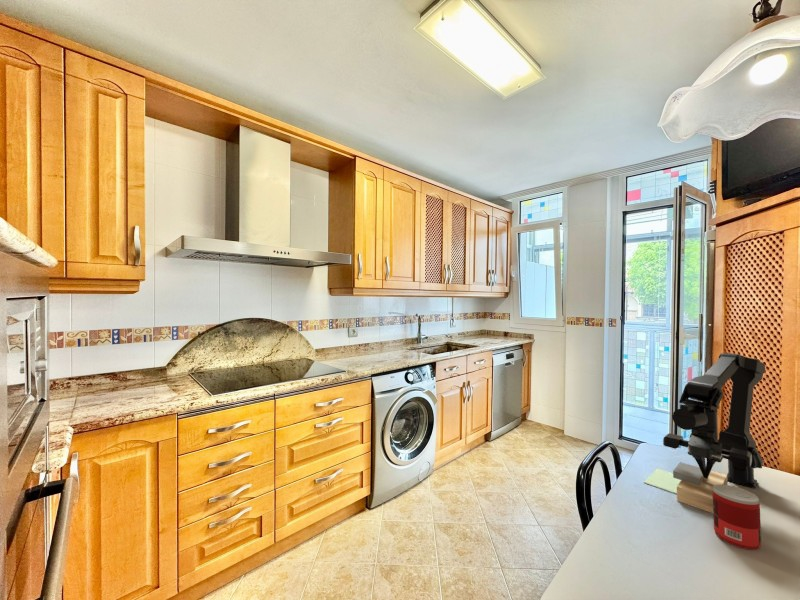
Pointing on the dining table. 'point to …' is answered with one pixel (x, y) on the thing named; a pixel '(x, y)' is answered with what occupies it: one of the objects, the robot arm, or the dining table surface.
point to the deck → (700, 491)
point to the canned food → (737, 516)
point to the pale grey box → (688, 473)
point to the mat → (663, 480)
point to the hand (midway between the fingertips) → (706, 477)
